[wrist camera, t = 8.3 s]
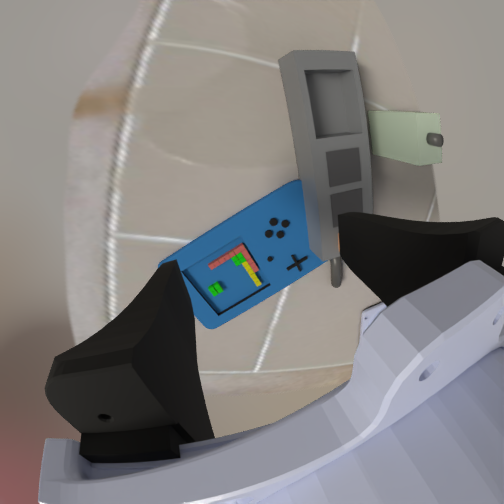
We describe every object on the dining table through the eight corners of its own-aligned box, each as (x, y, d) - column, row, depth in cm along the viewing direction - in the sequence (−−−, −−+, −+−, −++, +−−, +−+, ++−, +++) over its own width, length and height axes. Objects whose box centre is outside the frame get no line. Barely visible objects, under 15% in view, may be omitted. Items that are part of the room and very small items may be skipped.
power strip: (354, 276, 27) (374, 294, 24) (311, 292, 27) (328, 313, 23) (334, 58, 18) (359, 50, 15) (278, 59, 17) (296, 48, 14)
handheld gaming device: (348, 249, 25) (209, 334, 25) (342, 244, 26) (208, 326, 26) (316, 170, 21) (153, 270, 21) (310, 168, 22) (154, 263, 22)
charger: (395, 151, 22) (451, 165, 16) (372, 154, 22) (428, 168, 16) (391, 110, 21) (448, 114, 15) (367, 111, 20) (425, 113, 14)
